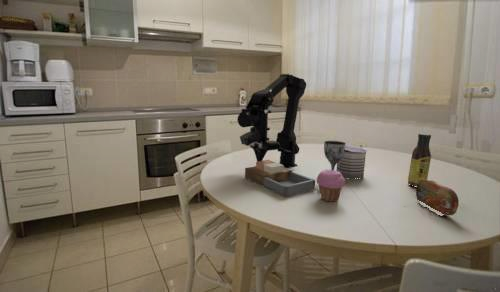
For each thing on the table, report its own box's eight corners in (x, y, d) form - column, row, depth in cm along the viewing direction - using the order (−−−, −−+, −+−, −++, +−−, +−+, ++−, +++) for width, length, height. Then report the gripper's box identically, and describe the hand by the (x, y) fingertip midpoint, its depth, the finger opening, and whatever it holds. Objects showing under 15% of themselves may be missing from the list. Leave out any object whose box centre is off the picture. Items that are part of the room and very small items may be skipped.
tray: (291, 180, 115) (292, 171, 114) (314, 189, 105) (315, 180, 105) (263, 186, 107) (263, 177, 106) (285, 197, 98) (285, 187, 97)
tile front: (275, 168, 116) (275, 162, 116) (283, 171, 113) (283, 165, 112) (263, 170, 113) (263, 164, 112) (271, 173, 109) (271, 167, 109)
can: (340, 169, 131) (342, 143, 128) (367, 174, 124) (370, 146, 122) (331, 176, 121) (333, 147, 119) (359, 181, 115) (362, 151, 112)
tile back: (267, 165, 120) (268, 159, 120) (274, 168, 117) (275, 162, 116) (256, 167, 117) (256, 161, 116) (262, 170, 113) (263, 164, 113)
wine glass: (342, 178, 119) (346, 141, 116) (342, 184, 112) (345, 145, 108) (322, 175, 121) (325, 140, 118) (320, 181, 114) (323, 143, 111)
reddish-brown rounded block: (413, 200, 97) (417, 176, 95) (422, 200, 97) (426, 176, 96) (447, 221, 83) (452, 193, 81) (457, 221, 83) (463, 193, 81)
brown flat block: (272, 172, 125) (272, 163, 124) (291, 180, 115) (292, 170, 114) (245, 177, 117) (245, 168, 116) (263, 186, 107) (263, 176, 106)
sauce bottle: (419, 189, 107) (427, 136, 103) (403, 184, 113) (410, 133, 108) (430, 187, 110) (438, 134, 106) (414, 182, 116) (421, 132, 111)
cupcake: (348, 203, 94) (351, 173, 92) (324, 206, 91) (326, 175, 89) (333, 193, 102) (335, 165, 100) (310, 195, 100) (312, 167, 97)
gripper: (230, 123, 120) (230, 160, 123) (257, 129, 105) (256, 171, 108) (253, 121, 126) (252, 157, 129) (281, 127, 111) (279, 167, 114)
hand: (259, 163), depth 120 cm, fingers closed
